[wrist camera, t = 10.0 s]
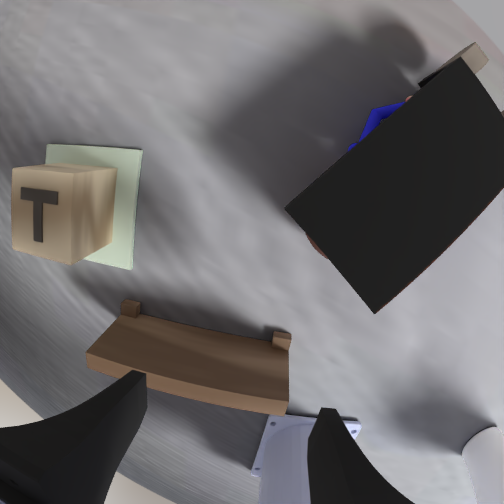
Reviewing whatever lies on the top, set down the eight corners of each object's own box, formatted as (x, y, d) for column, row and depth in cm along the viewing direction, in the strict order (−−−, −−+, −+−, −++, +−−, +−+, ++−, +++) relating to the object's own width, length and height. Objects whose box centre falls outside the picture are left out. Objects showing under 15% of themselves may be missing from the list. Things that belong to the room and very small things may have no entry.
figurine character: (425, 59, 17) (269, 199, 19) (487, 19, 10) (279, 209, 12) (480, 134, 18) (342, 279, 20) (554, 125, 10) (387, 329, 13)
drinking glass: (489, 413, 23) (547, 517, 9) (511, 426, 23) (561, 513, 9) (444, 455, 25) (482, 561, 10) (471, 463, 25) (507, 554, 11)
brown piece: (281, 368, 23) (280, 426, 17) (125, 333, 23) (89, 378, 17) (291, 333, 22) (292, 389, 16) (125, 298, 22) (84, 339, 16)
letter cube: (112, 242, 21) (70, 266, 16) (56, 230, 21) (11, 249, 16) (117, 168, 19) (72, 173, 14) (59, 162, 19) (11, 168, 14)
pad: (132, 268, 21) (130, 270, 21) (46, 247, 22) (43, 249, 21) (142, 150, 19) (140, 150, 19) (50, 143, 19) (46, 144, 19)
